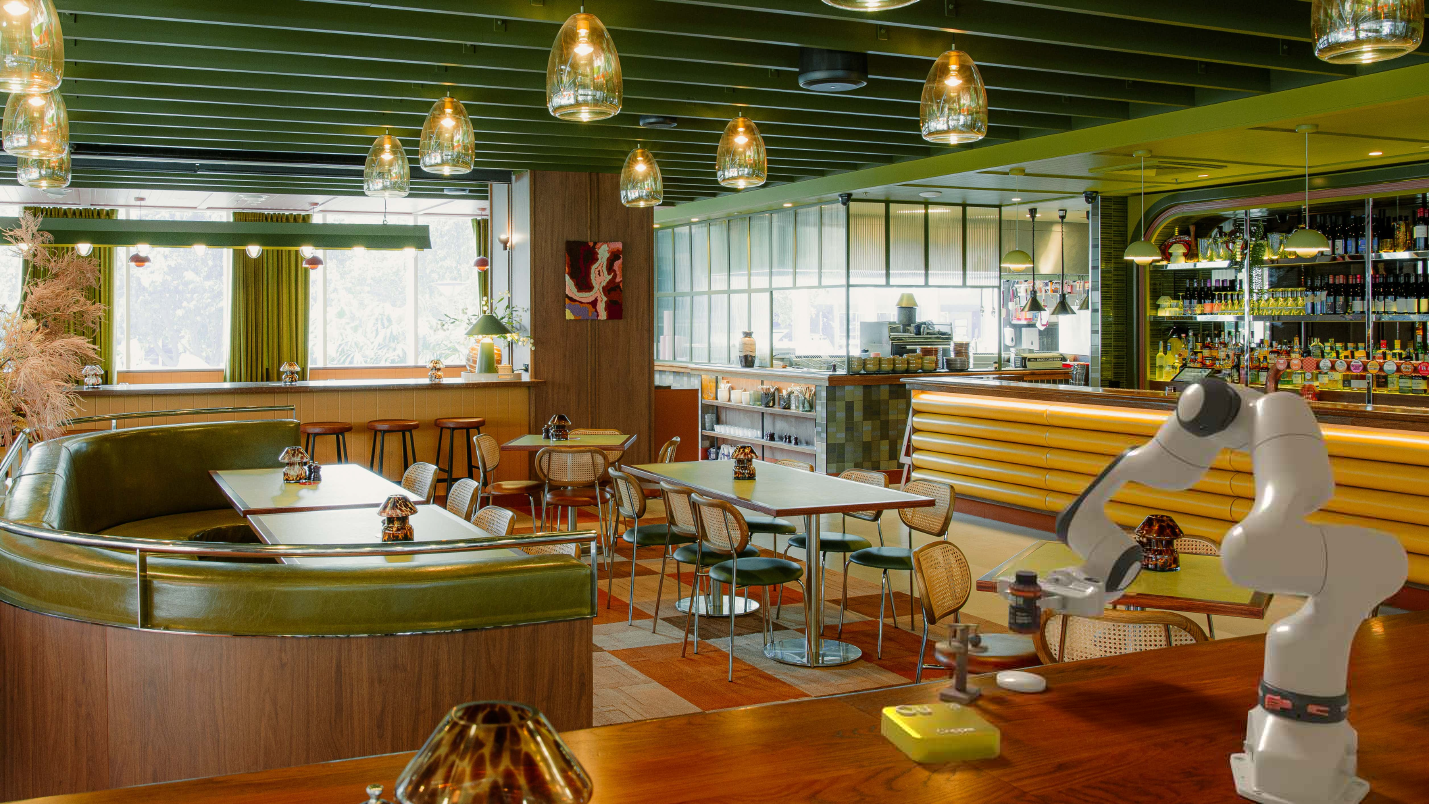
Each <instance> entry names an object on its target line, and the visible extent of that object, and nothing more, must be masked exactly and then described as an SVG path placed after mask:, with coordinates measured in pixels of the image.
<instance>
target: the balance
mask: <svg viewBox="0 0 1429 804" xmlns="http://www.w3.org/2000/svg"><path fill="white" fill-rule="evenodd" d="M947 629H949V635H948V641H938V642H935V647H934V648H935V649H936V650H937V651H940V652H941V653H942V652H943V653H947V654H956V662H955V663H956V664H955V681H954V682H953V683H951V684H950V685H948V686H947V687H946V688H944V689H943V690H941V692H939V698H938V699H939V700H941V701H946V702H949V703H959V704H961V705H963V706H967V705H969V703H971V702H972V701H973V700H975V699H976V698H977V697H978V696H980V695H981V693H982V687H981V686H977V685H973V684H972V685H971V684H969V683H967V681H968V680H967V679H968V661H969V658H968V657H969V653H972V654H985V653H988V652H989V646H988V645H986V644H984V643H982V640H983V639H982V637H981V635H980V634H979V633H978V632H977V630H979V629H980V625H979V624H975V623H947ZM953 630H957V636H956V637H957V638H956V639H957V640H956V642H955V641H952V637H953V636H952V633H953ZM970 630H973V631H974V633H971V634H970Z"/></svg>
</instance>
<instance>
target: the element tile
mask: <svg viewBox="0 0 1429 804" xmlns="http://www.w3.org/2000/svg"><path fill="white" fill-rule="evenodd" d="M880 727H881V729H880V733H881V735H883V736H884V737H885V738H886V739H887V740H888V741H889V742H891V744H893V745H894V746H895V747H896V748H898V749H899V750H900V751H901V752H902V753H903V754H905V755H906V756H907V757H908V758H909V759H910V760H912V761H914V762H916V763H920V764H937V763H938V764H939V763H949V762H962V761H974V760H988V759H995V758H997V757H999V756H1000V752H1001V751H1000V747H1001V731H1000V729H998V728H997V727H996V726H994V725H993V724H991V723H990V722H988V721H987V720H985V719H984V718H983V717H981V716H980V715H978V714H977V713H975V712H974V711H972V710H970V709H969V708H968V707H966V705H963V704H959V703H954V702H939V703H928V704H927V703H926V704H924V703H923V704H911V705H897V706H893V705H892V706H885V707H883V709H882V710H881V725H880Z"/></svg>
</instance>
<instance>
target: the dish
mask: <svg viewBox="0 0 1429 804" xmlns="http://www.w3.org/2000/svg"><path fill="white" fill-rule="evenodd" d="M996 684H997V685H998V686H1000V688H1004V689H1005V690H1009V691H1012V692H1013V691H1014V692H1018V693H1019V692H1020V693H1038V692H1039V693H1040V692H1043V691H1044V690H1046V687H1047V686H1046V685H1047V681H1046V679H1045V678H1044V677H1043V676H1040V675H1037V674H1035V673H1030V672H1025V671H1019V670H1018V671H1017V670H1009V671H1001V672H999V673H997V675H996Z"/></svg>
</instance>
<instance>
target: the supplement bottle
mask: <svg viewBox="0 0 1429 804" xmlns="http://www.w3.org/2000/svg"><path fill="white" fill-rule="evenodd" d="M1015 575H1016V576H1015V578H1016V580H1015V581H1014V582H1013V583H1011V585H1010V594H1009V600H1008V620H1007V621H1008V625H1007V626H1008V627H1007V628H1008V630H1009V631H1011V632H1012V633H1015V634H1018V635H1027V636H1028V635H1037V634H1038V633H1040V632H1041V626H1042V625H1041V623H1042V608H1038V607H1036V599H1037V598H1040V597H1042V587H1041V586H1040V585H1039V584H1038V583H1037V578H1038V573H1037V572H1035V571H1032V570H1017V571H1015Z"/></svg>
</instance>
